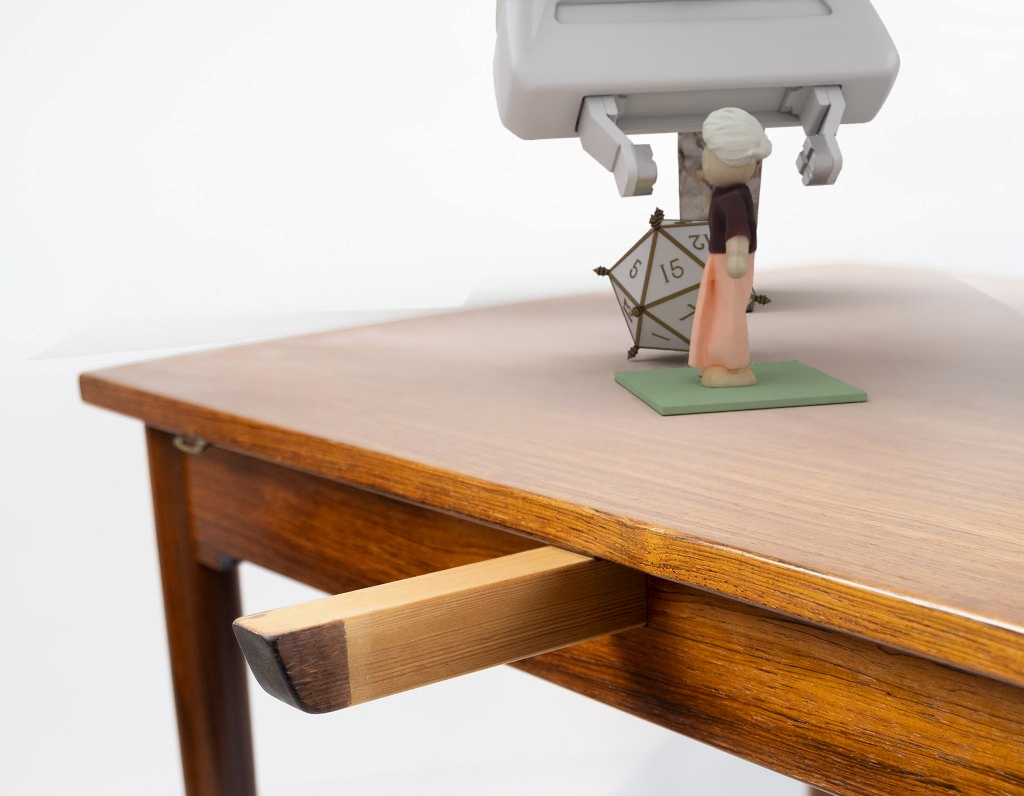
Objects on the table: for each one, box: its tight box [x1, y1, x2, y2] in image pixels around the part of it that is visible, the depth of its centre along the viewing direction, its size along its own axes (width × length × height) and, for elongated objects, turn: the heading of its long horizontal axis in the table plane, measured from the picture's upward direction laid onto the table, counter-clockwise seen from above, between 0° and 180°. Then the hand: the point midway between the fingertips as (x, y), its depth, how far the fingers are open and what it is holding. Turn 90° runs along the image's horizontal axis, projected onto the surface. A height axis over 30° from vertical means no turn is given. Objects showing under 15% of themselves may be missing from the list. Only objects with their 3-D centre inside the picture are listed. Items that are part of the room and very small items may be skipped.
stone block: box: [677, 128, 766, 312], centre depth 103 cm, size 13×7×20 cm, turn 176°
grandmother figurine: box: [687, 108, 773, 388], centre depth 73 cm, size 8×4×13 cm, turn 5°
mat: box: [613, 359, 869, 416], centre depth 75 cm, size 10×10×1 cm
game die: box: [592, 206, 772, 361], centre depth 83 cm, size 9×8×10 cm
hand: (733, 182), depth 72 cm, fingers open, 8 cm apart
